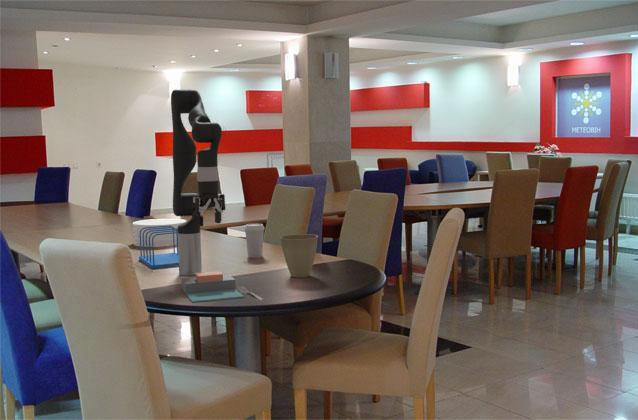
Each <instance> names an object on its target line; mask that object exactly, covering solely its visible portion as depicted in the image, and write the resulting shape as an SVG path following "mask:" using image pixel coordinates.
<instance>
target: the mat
mask: <svg viewBox="0 0 638 420" xmlns="http://www.w3.org/2000/svg"><path fill="white" fill-rule="evenodd" d="M185 295H186V297H187V298H188V299H189V300H190V302H191V303H201V302H202V303H203V302H209V301H210V302H212V301H221V300H232V299H242V298H244V295H243V294H242V293H241V292H240V291H239V290H238V289H237V288H235V289H231V290H221V291H210V292H199V293H188V294H185Z"/></svg>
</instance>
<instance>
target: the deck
mask: <svg viewBox="0 0 638 420" xmlns="http://www.w3.org/2000/svg"><path fill="white" fill-rule="evenodd" d="M180 282H181V285H180V286H181V290H182V292H183V293H184V294H185V295H186V294H188V293H199V292H210V291H221V290H231V289H236V279H235V278H234V277H233V276H232V275H230V274H223V281H213V282H201V283H198V282H197V281H196V280H195V277H184V278H181V279H180Z"/></svg>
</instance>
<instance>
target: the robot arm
mask: <svg viewBox="0 0 638 420" xmlns="http://www.w3.org/2000/svg"><path fill="white" fill-rule="evenodd" d="M170 107H171V118H172V119H171V121H172V167H173V168H172V173H173V184H172V185H173V189H172V190H173V191H172V210H173V214H174V216H176V217H190V216H191V218H190V219H189V220H188V221H187V222H186V223H184V224H181V225H179V226H178V228H177V232H178V258H179V266H178V275H180V276H184V277H189V276H190V277H191V276H192V277H193V276H195V273H203V270H202V267H203V266H202V242H201V240H202V239H201V227H204V213H205V211H207V209H211V208H212V209H213V210H214V223H215V224H220V223H221V221H222V212H223V211H225V210H226V197H225V194H224V193H219V192H220V183H219V182H220V180H219V178H220V176H219V167H218V153H219V146H220V143H221V139H222V135H223V130H222V126H221V125H220V124H219V123H218V122H212V121H211V119H210V118H209V117H210V116H208V114H207V113H206V110H205V106H204V103H203V100H202V96H201V94H200V93H199V91H198V90H196V89H182V88H181V89H173V90H172V92H171V95H170ZM182 114H185V115H186V114H188V115H187V117H188V118H187V119H188V124H189V125H190V126H191V135H190V134H189V132H188V130H187V129H186V127H185V126H184V123H183V120H182V116H181V115H182ZM196 143H199V144H203V143H204V144H205V143H206V144H207V143H209V144H210V145H209V146H208V147H207V148H205V149H200V150H198V152H197V145H196ZM196 164H197V170H196V171H197V172H196V182H197V183H196V184H197V187H196V188H197V192H187V193H182V191H183V187H184V185H185V183H186V181H187V179H188V177H189V176H190V174H191V173H192V171H193V170H194V169H195V167H196Z"/></svg>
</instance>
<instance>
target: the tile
mask: <svg viewBox="0 0 638 420" xmlns="http://www.w3.org/2000/svg"><path fill="white" fill-rule="evenodd" d="M223 275H224V274H223V272H221V271H219V270H217V271H206V272H203V271H202V273H195V275H194V276H195V280H196V281H197V282H198V283H201V282H213V281H223Z"/></svg>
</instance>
